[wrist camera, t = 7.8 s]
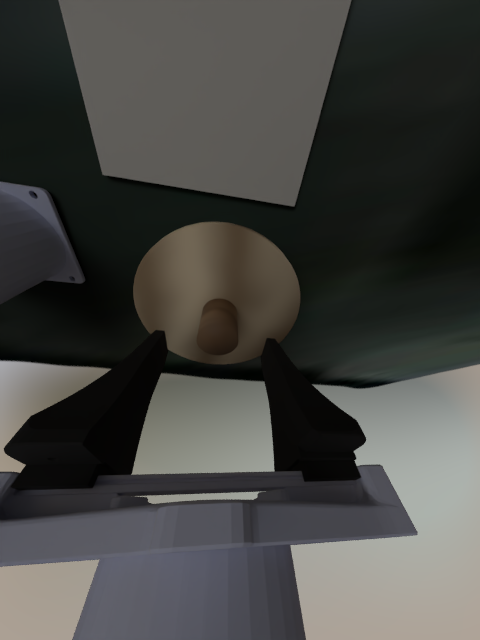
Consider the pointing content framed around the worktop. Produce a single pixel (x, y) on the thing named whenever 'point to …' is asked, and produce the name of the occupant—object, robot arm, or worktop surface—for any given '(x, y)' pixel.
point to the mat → (206, 89)
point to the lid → (217, 292)
